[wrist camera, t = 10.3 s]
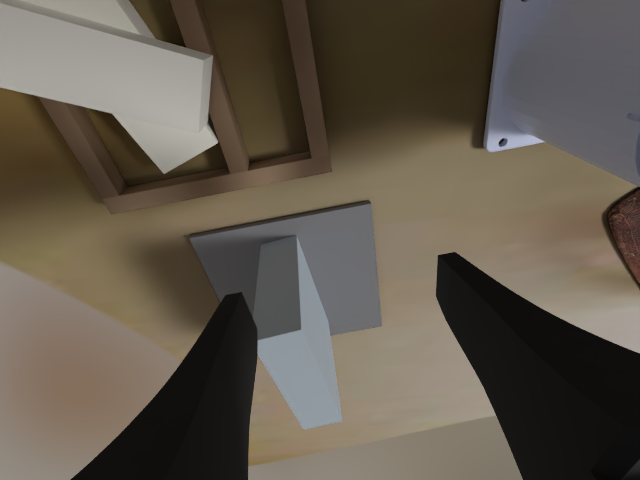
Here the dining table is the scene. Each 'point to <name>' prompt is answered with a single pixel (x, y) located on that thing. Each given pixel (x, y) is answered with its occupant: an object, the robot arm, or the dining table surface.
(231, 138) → the offcut rack
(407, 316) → the dining table surface
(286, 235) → the grey mat
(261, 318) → the pale grey rectangular block
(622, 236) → the wooden tablet
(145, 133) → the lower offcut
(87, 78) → the upper offcut
